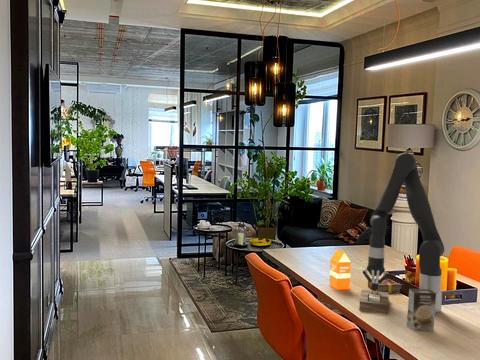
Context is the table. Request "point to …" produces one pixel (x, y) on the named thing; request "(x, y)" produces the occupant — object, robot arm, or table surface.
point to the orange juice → (340, 270)
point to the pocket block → (374, 306)
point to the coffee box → (421, 310)
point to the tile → (374, 298)
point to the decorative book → (387, 286)
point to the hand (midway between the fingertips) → (374, 290)
